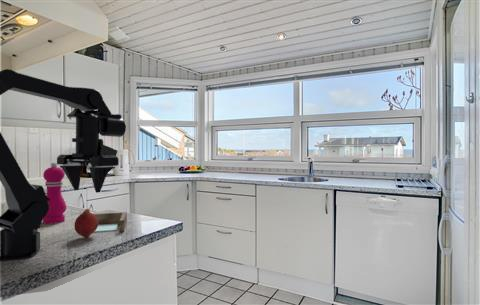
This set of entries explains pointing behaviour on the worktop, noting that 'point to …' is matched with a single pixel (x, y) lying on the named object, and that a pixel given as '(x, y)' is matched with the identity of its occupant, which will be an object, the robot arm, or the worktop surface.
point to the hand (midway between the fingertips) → (86, 191)
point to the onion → (86, 223)
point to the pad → (106, 227)
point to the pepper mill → (54, 194)
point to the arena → (113, 219)
